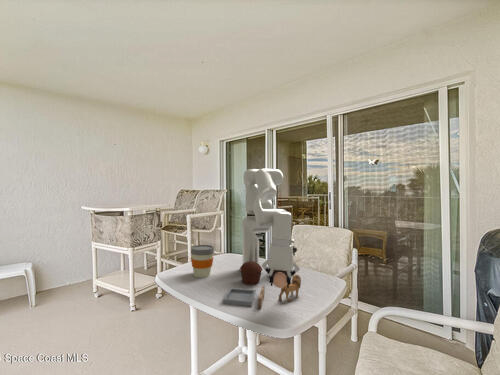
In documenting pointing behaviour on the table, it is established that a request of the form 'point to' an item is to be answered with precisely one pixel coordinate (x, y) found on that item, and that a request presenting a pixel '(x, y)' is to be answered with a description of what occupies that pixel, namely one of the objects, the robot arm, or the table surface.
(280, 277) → the ball
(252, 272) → the muffin
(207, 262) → the reusable coffee cup
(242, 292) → the slate dish
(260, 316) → the table surface
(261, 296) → the walnut wall
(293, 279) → the lion figurine
